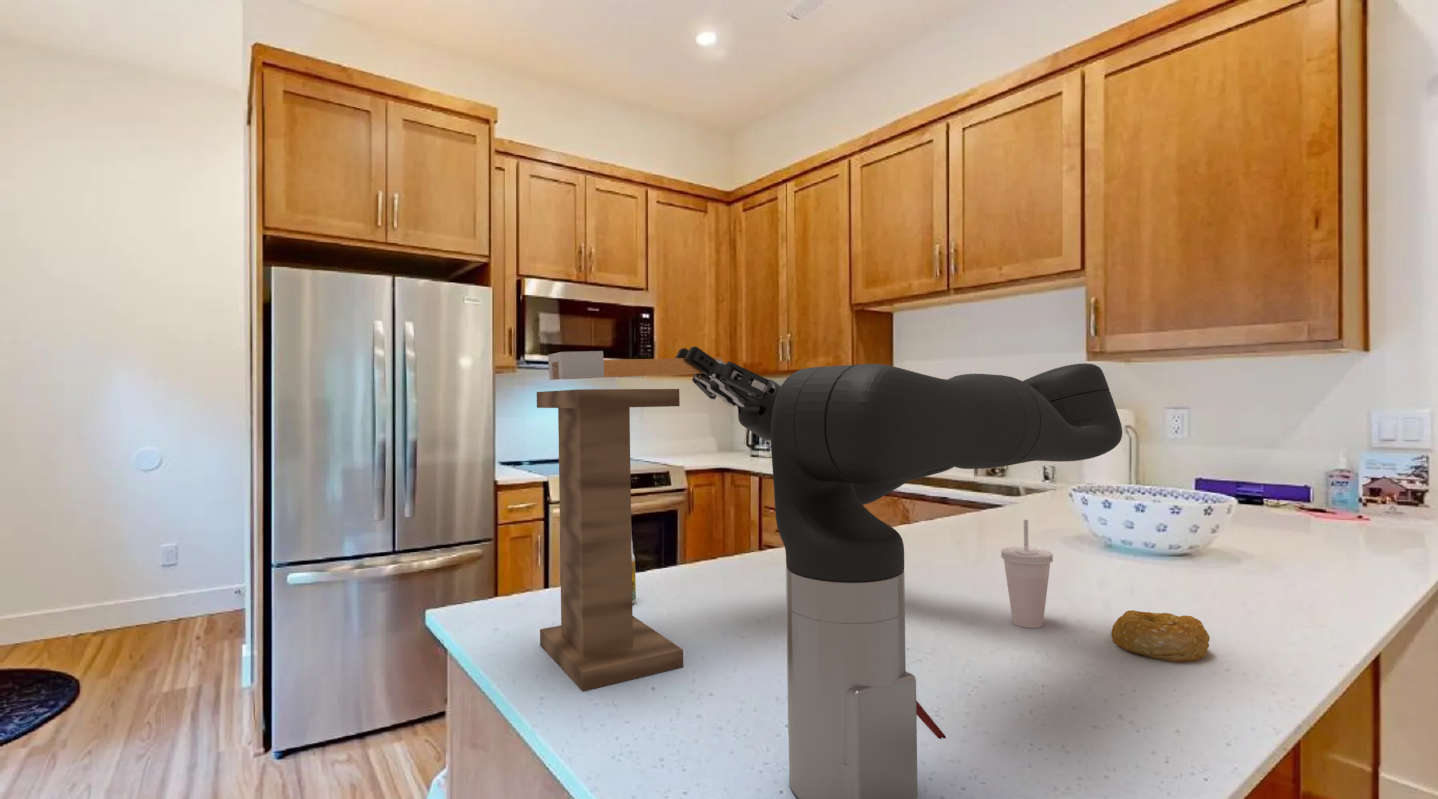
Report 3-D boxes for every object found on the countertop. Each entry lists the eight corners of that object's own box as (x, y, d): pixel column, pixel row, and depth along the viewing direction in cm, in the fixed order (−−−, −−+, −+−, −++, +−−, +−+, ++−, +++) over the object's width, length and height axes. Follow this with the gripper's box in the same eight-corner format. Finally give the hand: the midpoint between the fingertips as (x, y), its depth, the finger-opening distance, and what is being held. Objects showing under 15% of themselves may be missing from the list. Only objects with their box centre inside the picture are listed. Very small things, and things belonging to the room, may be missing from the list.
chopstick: (935, 744, 61) (935, 733, 61) (851, 646, 84) (851, 639, 84) (956, 742, 61) (956, 731, 61) (866, 645, 85) (866, 638, 85)
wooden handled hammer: (728, 371, 87) (727, 348, 87) (562, 378, 76) (561, 351, 76) (709, 373, 92) (707, 351, 92) (549, 379, 80) (548, 354, 80)
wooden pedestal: (683, 666, 78) (679, 388, 78) (582, 691, 71) (578, 389, 71) (628, 627, 91) (624, 391, 91) (540, 645, 85) (536, 391, 85)
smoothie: (999, 627, 89) (998, 521, 89) (1004, 613, 95) (1002, 514, 95) (1053, 634, 86) (1051, 525, 86) (1054, 619, 92) (1053, 517, 92)
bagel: (1203, 640, 84) (1202, 602, 84) (1215, 673, 74) (1214, 630, 74) (1111, 629, 89) (1110, 593, 89) (1111, 658, 79) (1110, 618, 79)
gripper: (761, 395, 102) (671, 333, 94) (821, 393, 90) (723, 323, 82) (741, 439, 100) (647, 380, 92) (799, 443, 88) (697, 376, 80)
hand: (684, 353), depth 87 cm, fingers closed on wooden handled hammer, 2 cm apart
